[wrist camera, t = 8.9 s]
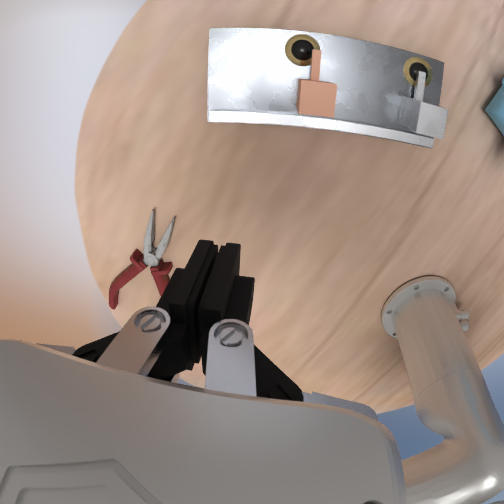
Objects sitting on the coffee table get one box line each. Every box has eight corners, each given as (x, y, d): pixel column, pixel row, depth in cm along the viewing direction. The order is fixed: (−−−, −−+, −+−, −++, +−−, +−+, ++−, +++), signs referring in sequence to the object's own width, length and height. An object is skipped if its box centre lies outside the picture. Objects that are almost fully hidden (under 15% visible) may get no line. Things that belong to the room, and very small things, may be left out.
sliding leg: (331, 52, 24) (340, 50, 21) (326, 111, 28) (333, 117, 24) (300, 48, 24) (303, 45, 21) (296, 107, 28) (298, 113, 24)
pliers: (209, 224, 39) (205, 235, 36) (174, 324, 50) (170, 335, 47) (126, 193, 37) (117, 201, 35) (111, 298, 48) (105, 309, 46)
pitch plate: (437, 62, 24) (467, 64, 19) (425, 144, 30) (450, 162, 24) (212, 30, 25) (197, 22, 20) (210, 119, 31) (195, 131, 26)
